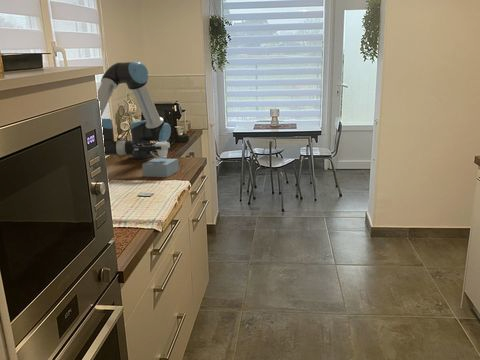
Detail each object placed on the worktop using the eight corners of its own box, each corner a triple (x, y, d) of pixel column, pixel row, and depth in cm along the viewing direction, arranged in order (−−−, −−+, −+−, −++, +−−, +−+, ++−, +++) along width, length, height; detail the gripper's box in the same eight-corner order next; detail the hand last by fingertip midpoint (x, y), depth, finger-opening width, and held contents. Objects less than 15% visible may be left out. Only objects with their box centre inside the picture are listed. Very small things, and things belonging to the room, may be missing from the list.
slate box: (155, 170, 255) (154, 158, 254) (178, 171, 251) (177, 158, 250) (143, 176, 241) (142, 163, 240) (167, 177, 238) (166, 164, 236)
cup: (168, 158, 241) (167, 143, 239) (149, 159, 241) (148, 144, 239) (170, 156, 248) (169, 141, 246) (152, 156, 248) (151, 142, 246)
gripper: (130, 151, 254) (171, 149, 254) (122, 158, 234) (166, 156, 234) (129, 137, 252) (170, 136, 252) (120, 143, 233) (165, 142, 233)
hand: (168, 146), depth 243 cm, fingers closed on cup, 7 cm apart
